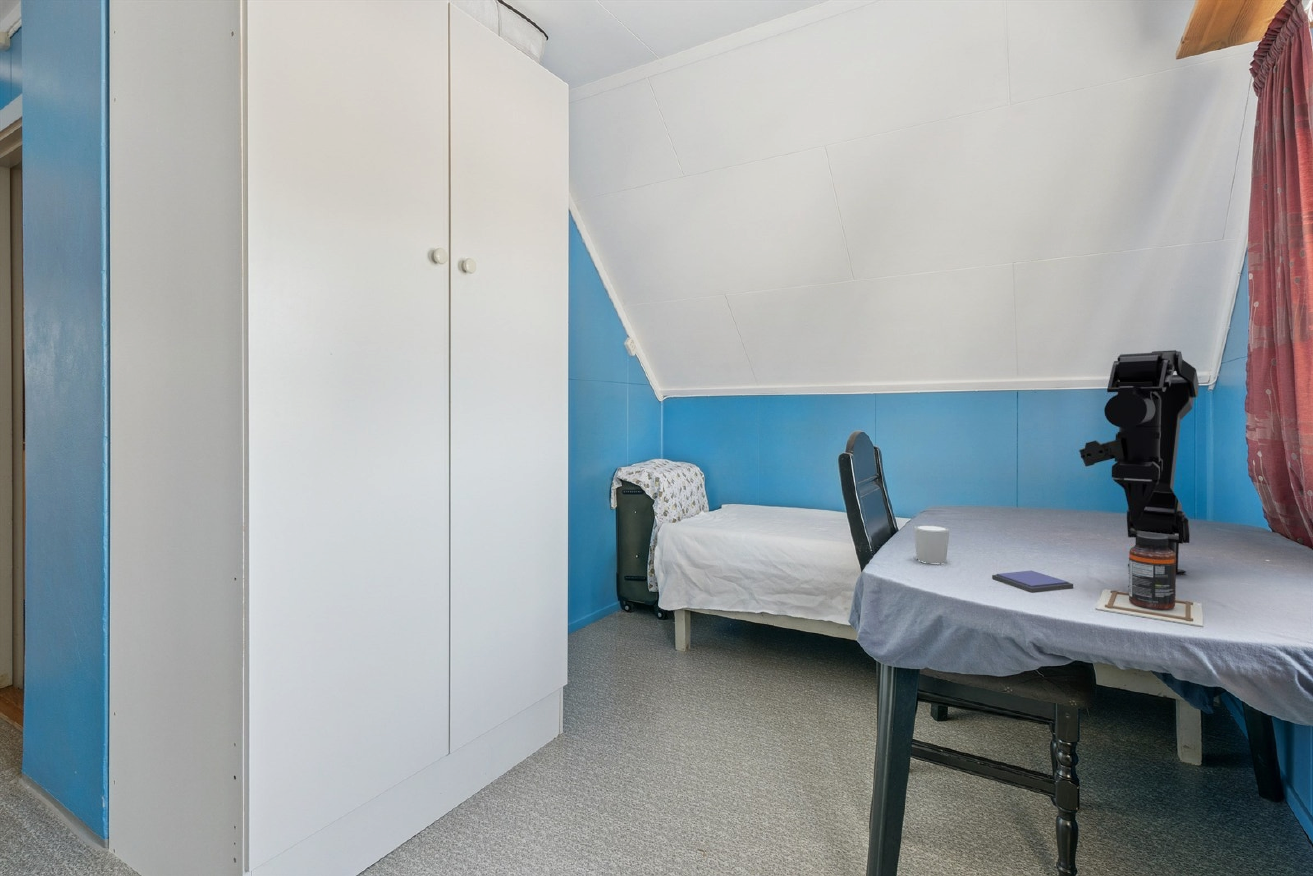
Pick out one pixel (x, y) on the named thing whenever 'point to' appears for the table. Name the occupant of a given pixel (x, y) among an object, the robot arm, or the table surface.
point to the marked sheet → (1178, 614)
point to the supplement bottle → (1152, 572)
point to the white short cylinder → (931, 543)
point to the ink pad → (1032, 581)
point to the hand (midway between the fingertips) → (1136, 515)
